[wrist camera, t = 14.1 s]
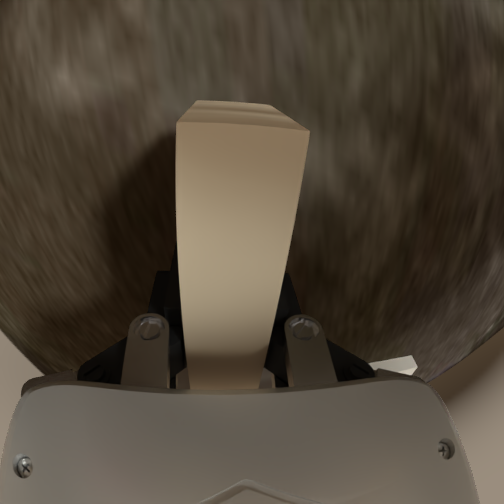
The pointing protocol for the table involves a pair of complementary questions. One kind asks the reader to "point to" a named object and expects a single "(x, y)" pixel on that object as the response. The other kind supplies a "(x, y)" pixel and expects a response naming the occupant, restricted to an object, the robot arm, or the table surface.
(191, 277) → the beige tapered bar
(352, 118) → the table surface
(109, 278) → the table surface
